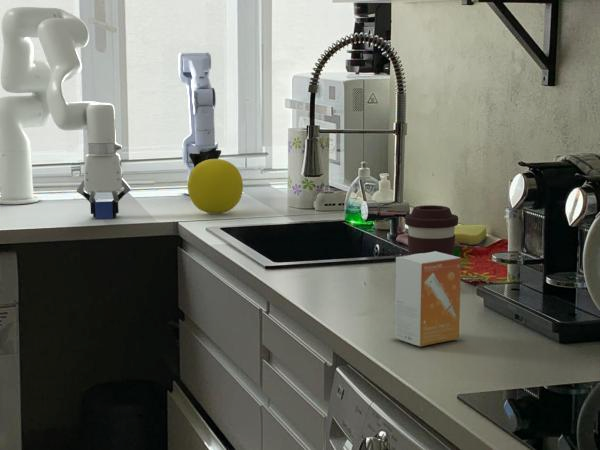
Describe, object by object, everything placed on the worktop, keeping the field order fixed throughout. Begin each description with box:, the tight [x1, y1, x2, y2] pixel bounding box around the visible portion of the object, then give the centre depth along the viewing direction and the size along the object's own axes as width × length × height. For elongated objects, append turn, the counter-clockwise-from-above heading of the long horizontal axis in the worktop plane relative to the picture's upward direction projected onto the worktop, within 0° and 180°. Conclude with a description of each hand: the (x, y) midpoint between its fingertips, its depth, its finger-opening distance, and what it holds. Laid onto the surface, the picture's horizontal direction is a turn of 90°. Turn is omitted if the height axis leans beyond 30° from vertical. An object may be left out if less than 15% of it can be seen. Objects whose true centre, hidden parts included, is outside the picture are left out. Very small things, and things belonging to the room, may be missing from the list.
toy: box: [187, 158, 244, 215], centre depth 287 cm, size 15×15×15 cm
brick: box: [95, 198, 115, 220], centre depth 284 cm, size 5×5×5 cm
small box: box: [394, 251, 462, 347], centre depth 161 cm, size 8×6×13 cm
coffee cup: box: [404, 204, 459, 256], centre depth 197 cm, size 10×10×15 cm
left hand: (104, 215), depth 284 cm, fingers closed on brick, 4 cm apart
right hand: (205, 175), depth 309 cm, fingers open, 7 cm apart
